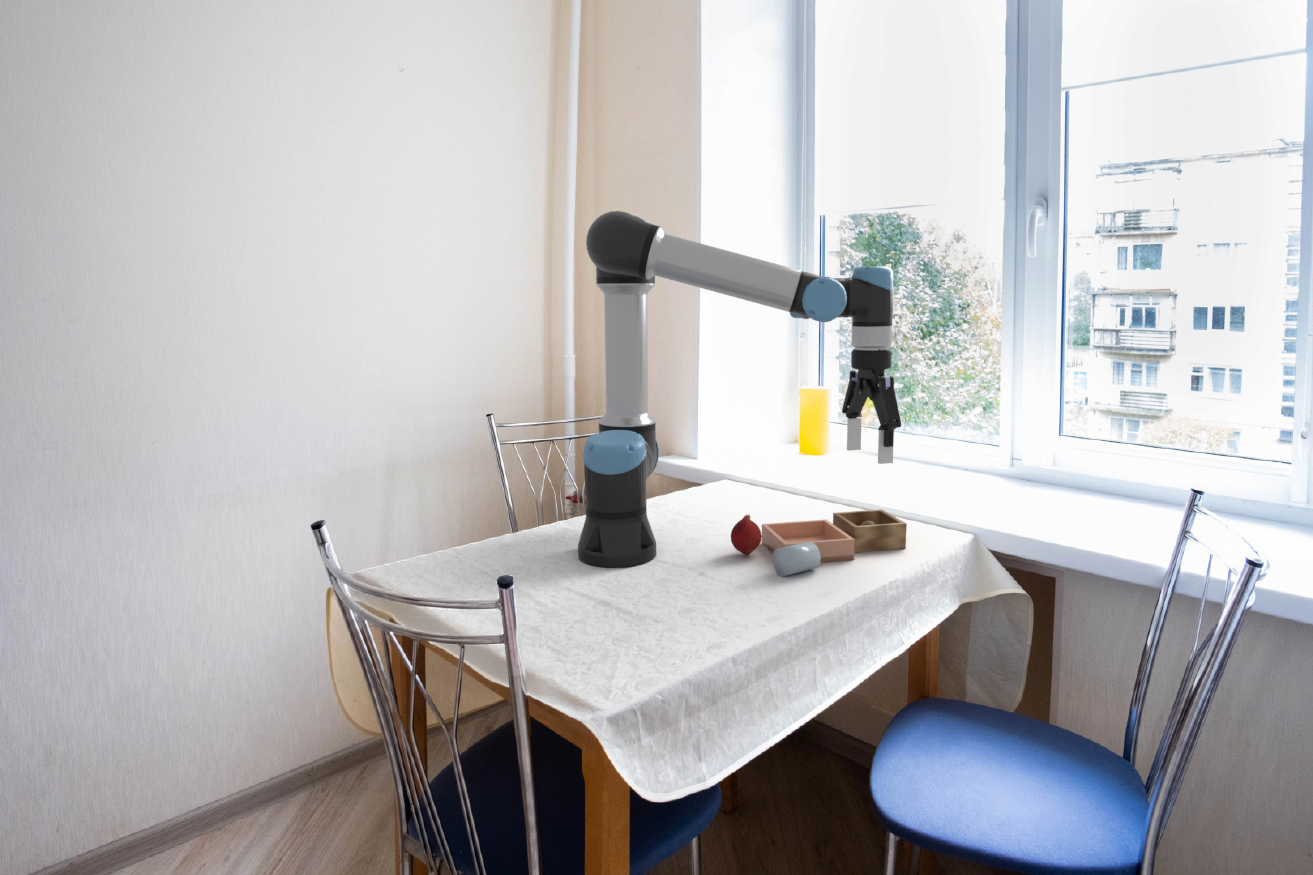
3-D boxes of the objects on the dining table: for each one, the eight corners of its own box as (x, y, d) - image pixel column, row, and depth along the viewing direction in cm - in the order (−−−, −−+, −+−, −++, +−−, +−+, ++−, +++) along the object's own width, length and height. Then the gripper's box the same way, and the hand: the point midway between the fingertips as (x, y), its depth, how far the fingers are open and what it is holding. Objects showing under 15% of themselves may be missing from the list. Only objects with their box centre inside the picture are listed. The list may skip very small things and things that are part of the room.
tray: (784, 565, 150) (785, 544, 150) (761, 543, 164) (761, 524, 163) (854, 559, 153) (854, 539, 152) (825, 538, 166) (826, 519, 165)
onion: (743, 562, 153) (744, 520, 151) (724, 554, 157) (724, 514, 156) (767, 556, 156) (767, 515, 154) (747, 548, 161) (748, 509, 159)
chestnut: (863, 541, 161) (864, 524, 160) (856, 536, 165) (856, 519, 164) (880, 540, 162) (881, 522, 161) (872, 535, 165) (873, 517, 165)
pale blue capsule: (790, 579, 143) (790, 552, 142) (771, 571, 147) (772, 544, 147) (820, 572, 147) (820, 545, 146) (801, 564, 151) (802, 538, 150)
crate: (854, 552, 157) (855, 527, 156) (832, 536, 167) (833, 512, 167) (905, 548, 159) (906, 523, 158) (880, 532, 169) (881, 509, 168)
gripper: (923, 352, 146) (918, 467, 150) (860, 343, 170) (858, 443, 174) (884, 353, 145) (881, 470, 149) (827, 344, 169) (825, 445, 173)
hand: (868, 456), depth 161 cm, fingers open, 13 cm apart
